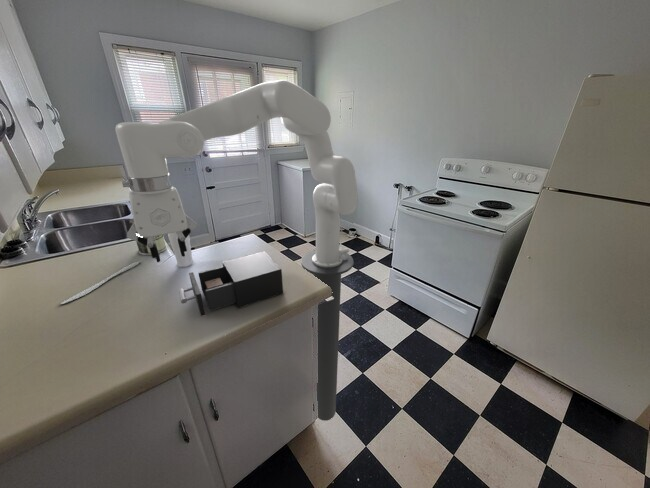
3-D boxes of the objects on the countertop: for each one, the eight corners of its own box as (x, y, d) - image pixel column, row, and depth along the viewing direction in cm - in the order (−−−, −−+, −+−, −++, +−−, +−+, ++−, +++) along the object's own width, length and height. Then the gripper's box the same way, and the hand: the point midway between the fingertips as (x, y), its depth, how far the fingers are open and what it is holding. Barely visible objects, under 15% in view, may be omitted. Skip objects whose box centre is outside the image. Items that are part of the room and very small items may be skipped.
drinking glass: (187, 258, 109) (178, 223, 102) (199, 262, 106) (191, 226, 100) (172, 266, 103) (162, 229, 97) (184, 270, 100) (175, 233, 94)
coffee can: (135, 256, 110) (124, 224, 104) (144, 245, 119) (135, 215, 113) (162, 254, 112) (153, 222, 106) (170, 243, 121) (162, 214, 115)
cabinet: (238, 308, 81) (234, 282, 77) (226, 284, 92) (222, 261, 88) (283, 293, 88) (281, 268, 84) (266, 273, 99) (264, 251, 95)
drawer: (185, 321, 74) (180, 299, 71) (179, 296, 84) (174, 276, 81) (248, 301, 82) (245, 280, 79) (236, 280, 93) (233, 262, 90)
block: (221, 289, 86) (219, 277, 84) (225, 296, 83) (223, 284, 81) (207, 293, 84) (204, 281, 82) (210, 300, 80) (207, 288, 79)
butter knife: (142, 262, 104) (135, 260, 105) (65, 304, 81) (58, 302, 81) (142, 263, 105) (136, 262, 105) (66, 306, 81) (58, 304, 82)
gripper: (101, 192, 52) (129, 273, 60) (196, 182, 60) (210, 254, 68) (105, 184, 58) (130, 259, 66) (191, 177, 66) (204, 244, 74)
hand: (170, 256), depth 67 cm, fingers open, 4 cm apart
